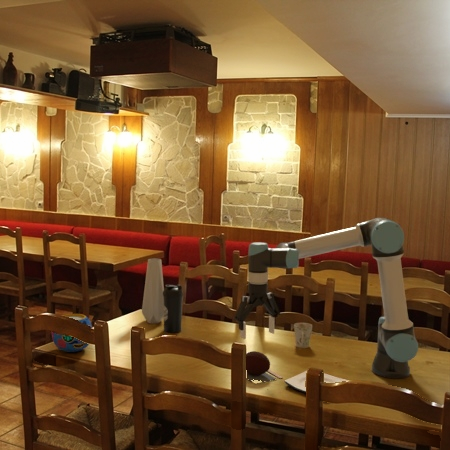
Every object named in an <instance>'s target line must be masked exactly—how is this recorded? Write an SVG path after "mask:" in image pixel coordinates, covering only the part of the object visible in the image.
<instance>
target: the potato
mask: <svg viewBox="0 0 450 450" xmlns="http://www.w3.org/2000/svg"><path fill="white" fill-rule="evenodd" d="M245 354H246V370H247V373H248V374H251V375H261V374H264V373H268V372H267V371H268V370H270V367H271V361H270V359H269V358H268V356H267V355H265V354H264V353H263V352H260V351H253V350H251V351H249V352H246V353H245Z"/></svg>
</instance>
